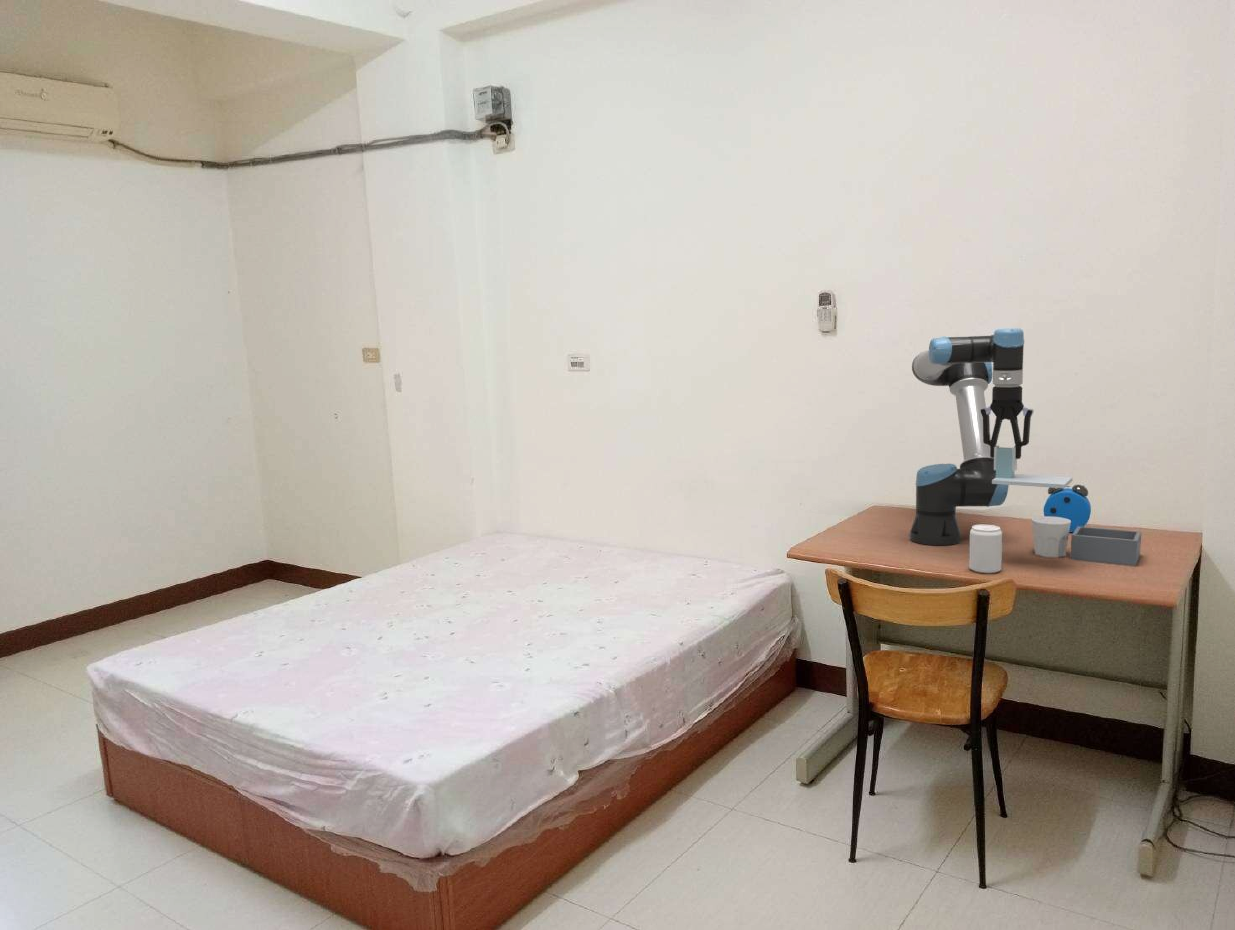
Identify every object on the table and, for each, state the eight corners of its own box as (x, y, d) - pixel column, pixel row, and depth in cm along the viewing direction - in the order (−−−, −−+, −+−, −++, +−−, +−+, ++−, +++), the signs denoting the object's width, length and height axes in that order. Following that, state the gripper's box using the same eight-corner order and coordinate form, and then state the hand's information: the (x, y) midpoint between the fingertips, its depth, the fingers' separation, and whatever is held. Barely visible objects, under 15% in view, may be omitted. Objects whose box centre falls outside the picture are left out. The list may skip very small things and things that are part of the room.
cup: (1023, 552, 263) (1024, 519, 261) (1048, 547, 266) (1049, 515, 265) (1051, 560, 253) (1053, 525, 252) (1077, 555, 257) (1078, 521, 256)
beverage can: (963, 567, 250) (964, 525, 248) (992, 565, 251) (993, 523, 249) (977, 575, 242) (978, 531, 240) (1006, 573, 243) (1008, 529, 241)
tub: (1070, 559, 253) (1071, 535, 252) (1076, 549, 263) (1077, 526, 262) (1135, 566, 244) (1137, 541, 243) (1140, 555, 254) (1141, 531, 253)
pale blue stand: (991, 483, 247) (992, 451, 246) (1002, 476, 258) (1003, 445, 256) (1064, 488, 237) (1065, 454, 236) (1072, 480, 248) (1073, 448, 246)
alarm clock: (1090, 530, 284) (1092, 483, 282) (1089, 534, 279) (1091, 487, 277) (1044, 527, 291) (1045, 481, 288) (1042, 531, 286) (1044, 484, 283)
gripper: (971, 386, 249) (969, 470, 253) (1038, 387, 239) (1035, 473, 243) (978, 384, 255) (976, 466, 259) (1043, 384, 245) (1041, 469, 249)
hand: (1005, 469), depth 251 cm, fingers closed on pale blue stand, 4 cm apart
